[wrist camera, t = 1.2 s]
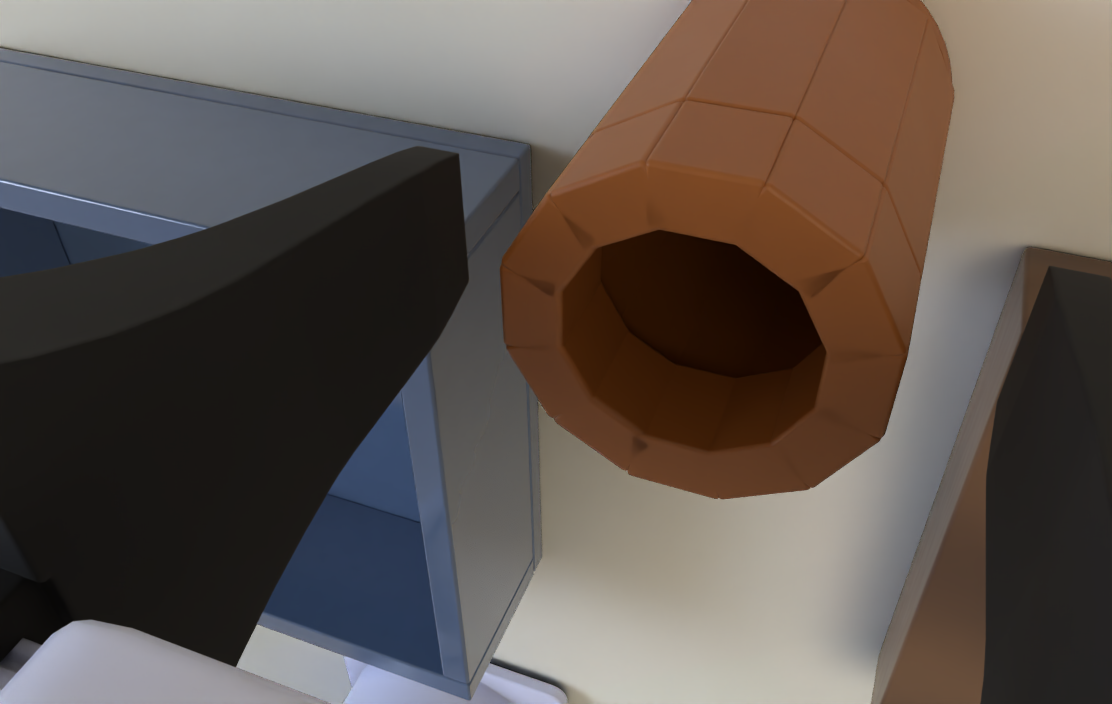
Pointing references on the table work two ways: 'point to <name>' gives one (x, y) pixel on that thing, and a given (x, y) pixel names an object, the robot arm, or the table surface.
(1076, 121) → the table surface
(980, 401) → the panel
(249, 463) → the robot arm
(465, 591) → the blue open tray
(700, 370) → the jar
